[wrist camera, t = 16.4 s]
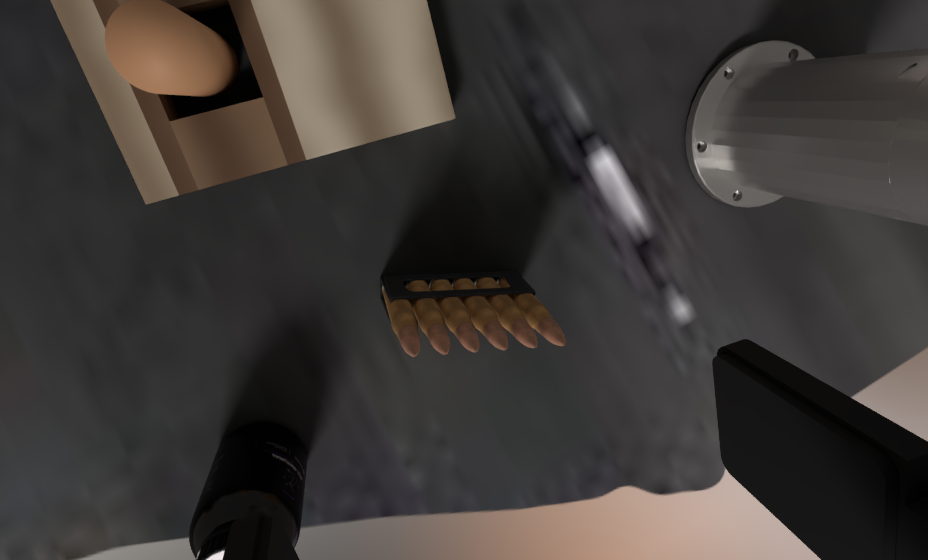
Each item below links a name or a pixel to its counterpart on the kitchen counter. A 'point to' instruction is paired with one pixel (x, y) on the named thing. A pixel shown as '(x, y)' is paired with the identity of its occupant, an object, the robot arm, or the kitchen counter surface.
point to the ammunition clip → (465, 309)
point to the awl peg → (168, 51)
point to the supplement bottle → (250, 486)
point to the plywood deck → (273, 88)
